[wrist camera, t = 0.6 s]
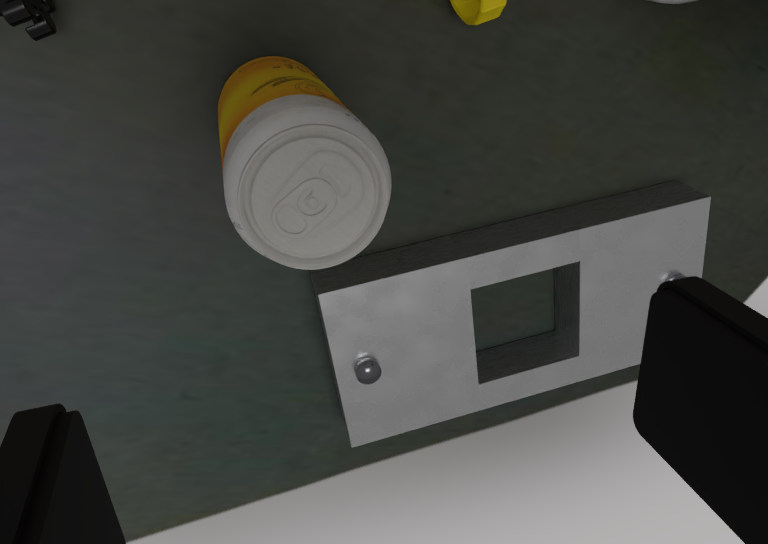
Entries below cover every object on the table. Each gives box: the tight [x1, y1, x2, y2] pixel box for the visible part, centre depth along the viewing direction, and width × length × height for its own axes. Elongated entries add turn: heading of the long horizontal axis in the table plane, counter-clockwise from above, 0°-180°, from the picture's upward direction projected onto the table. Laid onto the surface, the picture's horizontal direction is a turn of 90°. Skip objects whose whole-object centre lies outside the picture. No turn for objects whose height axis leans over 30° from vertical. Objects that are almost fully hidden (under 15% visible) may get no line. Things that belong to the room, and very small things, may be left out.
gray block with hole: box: [310, 180, 711, 447], centre depth 43 cm, size 26×12×4 cm, turn 98°
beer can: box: [218, 56, 391, 270], centre depth 28 cm, size 6×6×15 cm
